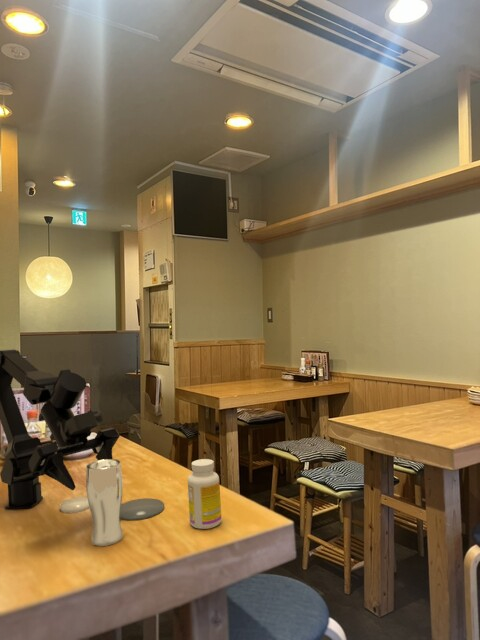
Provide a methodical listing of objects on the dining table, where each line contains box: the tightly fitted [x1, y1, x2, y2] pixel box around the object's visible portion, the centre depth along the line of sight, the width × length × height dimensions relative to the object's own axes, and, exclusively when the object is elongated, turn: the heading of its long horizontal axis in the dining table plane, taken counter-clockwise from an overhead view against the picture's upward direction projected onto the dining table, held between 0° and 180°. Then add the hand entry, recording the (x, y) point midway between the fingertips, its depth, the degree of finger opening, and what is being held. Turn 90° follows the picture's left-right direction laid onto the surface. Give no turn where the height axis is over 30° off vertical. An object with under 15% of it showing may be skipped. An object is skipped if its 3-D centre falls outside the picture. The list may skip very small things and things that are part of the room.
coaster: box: [120, 497, 165, 521], centre depth 108 cm, size 11×11×1 cm
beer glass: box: [85, 458, 124, 547], centre depth 94 cm, size 7×7×15 cm
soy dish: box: [59, 496, 90, 514], centre depth 112 cm, size 7×7×1 cm
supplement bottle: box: [187, 458, 222, 530], centre depth 99 cm, size 7×7×13 cm
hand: (94, 481), depth 96 cm, fingers open, 9 cm apart
